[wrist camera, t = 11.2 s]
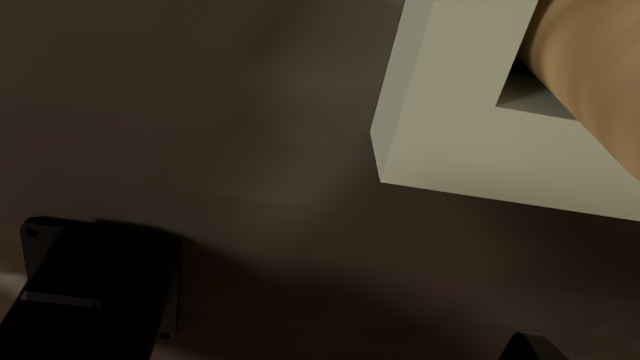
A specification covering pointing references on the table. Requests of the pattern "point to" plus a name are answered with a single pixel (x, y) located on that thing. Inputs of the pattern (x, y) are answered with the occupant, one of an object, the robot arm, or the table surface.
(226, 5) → the table surface
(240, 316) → the table surface
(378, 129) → the socket block
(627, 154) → the peg
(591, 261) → the table surface
